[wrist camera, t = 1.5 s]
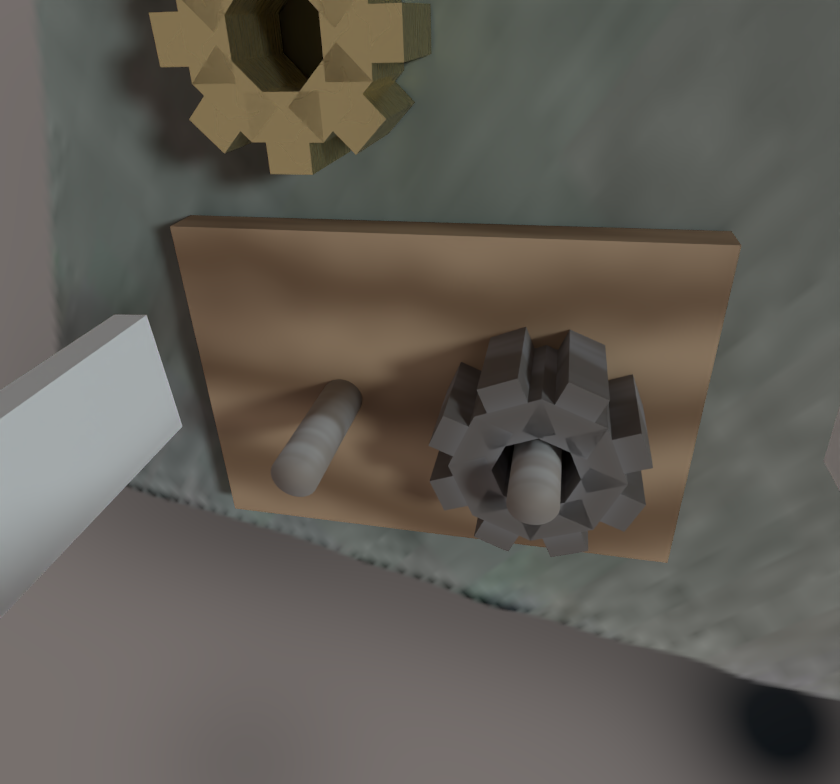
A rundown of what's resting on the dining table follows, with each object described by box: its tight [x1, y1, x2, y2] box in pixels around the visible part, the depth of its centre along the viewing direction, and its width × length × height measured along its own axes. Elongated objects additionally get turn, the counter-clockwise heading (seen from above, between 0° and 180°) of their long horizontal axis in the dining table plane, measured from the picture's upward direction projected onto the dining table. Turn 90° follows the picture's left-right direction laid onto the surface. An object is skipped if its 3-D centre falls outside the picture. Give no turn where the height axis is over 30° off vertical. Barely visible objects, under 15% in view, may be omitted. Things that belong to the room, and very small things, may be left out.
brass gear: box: [149, 0, 431, 175], centre depth 25 cm, size 10×10×5 cm
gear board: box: [170, 215, 741, 563], centre depth 31 cm, size 18×26×9 cm
